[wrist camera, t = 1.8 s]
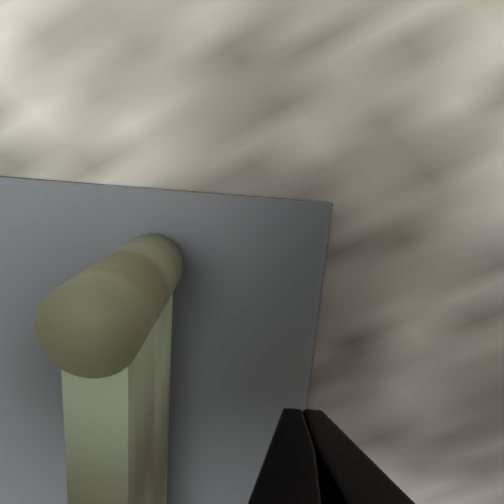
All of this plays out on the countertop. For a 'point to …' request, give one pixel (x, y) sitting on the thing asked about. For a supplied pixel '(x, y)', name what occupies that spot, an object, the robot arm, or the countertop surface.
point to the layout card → (183, 325)
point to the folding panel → (115, 371)
